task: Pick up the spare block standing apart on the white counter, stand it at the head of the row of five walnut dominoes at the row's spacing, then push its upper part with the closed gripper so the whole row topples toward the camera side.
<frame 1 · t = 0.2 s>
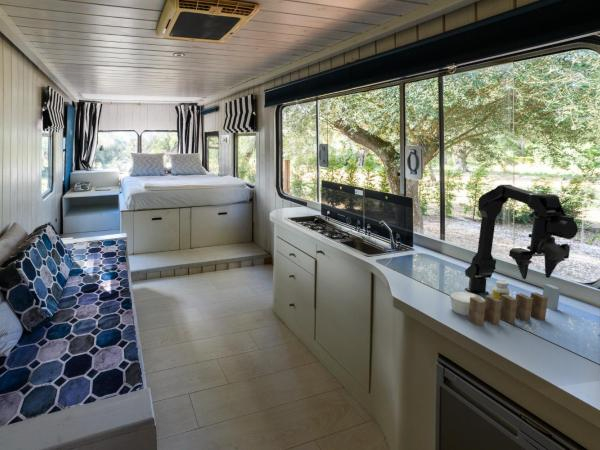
hand: (535, 278, 138), 14 cm above the countertop, fingers open, 9 cm apart
tile 4: (491, 321, 138), on the countertop
spare block: (549, 307, 152), on the countertop
tile 5: (475, 322, 137), on the countertop
supplement bottle: (498, 308, 150), on the countertop
ramekin: (465, 311, 147), on the countertop
tile 1: (536, 317, 142), on the countertop
tile 3: (506, 319, 140), on the countertop
tile 2: (521, 318, 141), on the countertop
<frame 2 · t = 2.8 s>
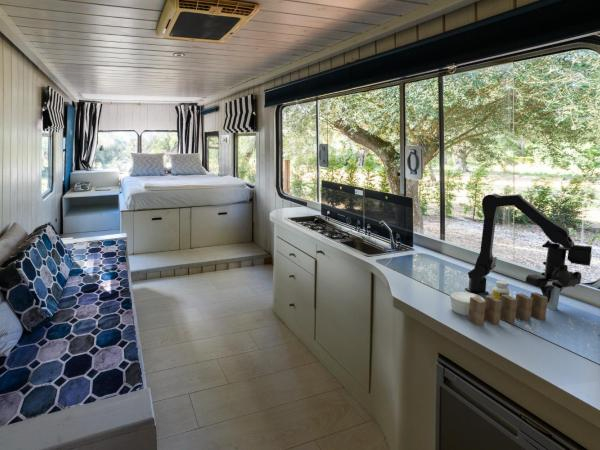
hand: (549, 301, 151), 2 cm above the countertop, fingers closed on spare block, 2 cm apart
spare block: (549, 307, 152), on the countertop, touching gripper
everything else where it was.
when the fingers open (3 cm above the countertop, at t = 6.4 s): spare block drops 1 cm, on the countertop.
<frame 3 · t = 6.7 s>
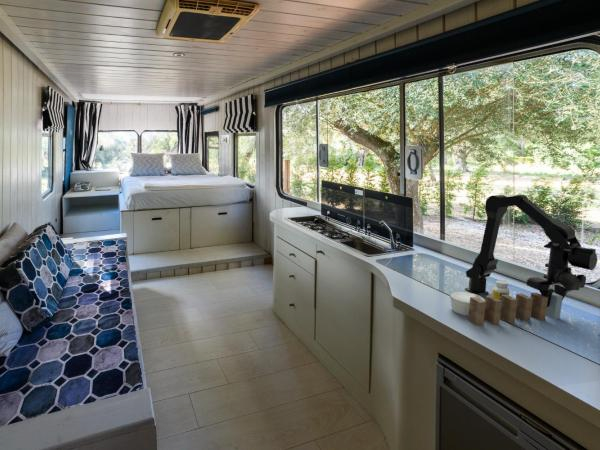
hand: (552, 306, 143), 3 cm above the countertop, fingers open, 4 cm apart
spare block: (551, 315, 144), on the countertop
everything else where it was.
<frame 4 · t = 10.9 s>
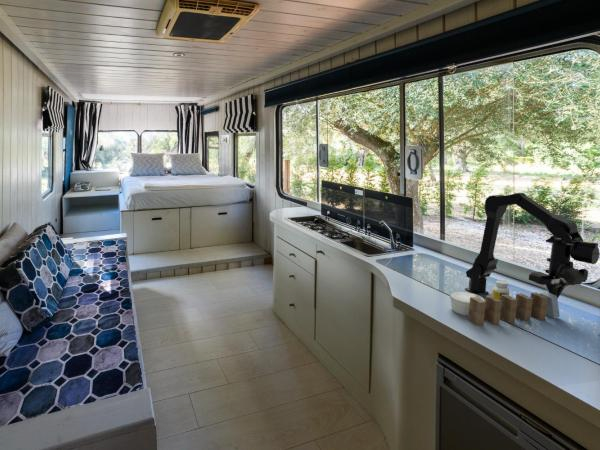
hand: (554, 300, 143), 5 cm above the countertop, fingers closed
spare block: (551, 315, 144), on the countertop, tilted 17°
everything else where it was.
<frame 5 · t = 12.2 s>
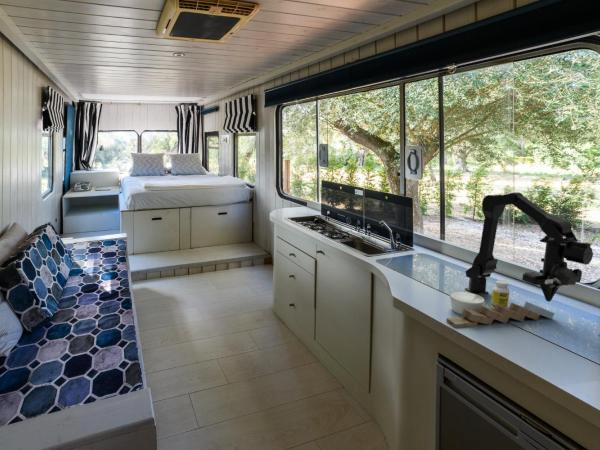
hand: (548, 301, 142), 6 cm above the countertop, fingers closed
tile 4: (487, 318, 138), point 1 cm above the countertop, tilted 75°, touching tile 3
spare block: (547, 313, 143), point 1 cm above the countertop, tilted 68°
tile 5: (472, 322, 137), on the countertop, tilted 90°
tile 1: (533, 314, 142), point 1 cm above the countertop, tilted 68°
tile 3: (502, 317, 139), point 1 cm above the countertop, tilted 69°, touching tile 2, tile 4
tile 2: (518, 316, 140), point 1 cm above the countertop, tilted 69°, touching tile 3
everything else where it was.
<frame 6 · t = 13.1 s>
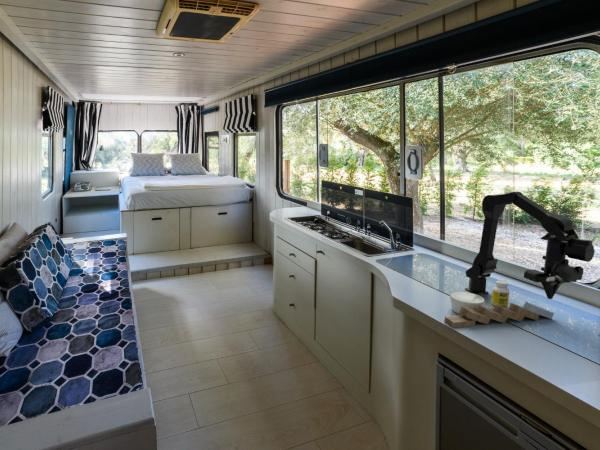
hand: (549, 298, 142), 6 cm above the countertop, fingers closed
tile 4: (484, 318, 138), point 1 cm above the countertop, tilted 70°, touching tile 3
spare block: (546, 313, 143), point 1 cm above the countertop, tilted 69°, touching tile 1
tile 1: (532, 314, 142), point 1 cm above the countertop, tilted 69°, touching spare block, tile 2
tile 2: (517, 316, 140), point 1 cm above the countertop, tilted 70°, touching tile 1, tile 3
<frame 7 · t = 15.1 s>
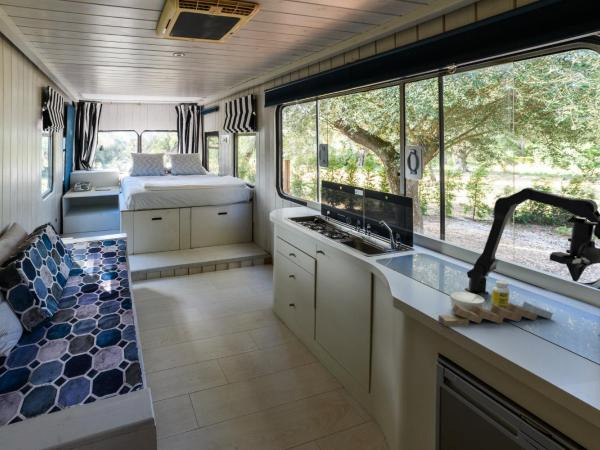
hand: (575, 281, 142), 12 cm above the countertop, fingers closed
tile 4: (478, 318, 138), point 1 cm above the countertop, tilted 70°
tile 5: (464, 320, 137), point 1 cm above the countertop, tilted 90°
tile 3: (497, 317, 138), point 1 cm above the countertop, tilted 70°, touching tile 2
at the end: tile 5 tilted 90°; spare block tilted 69°; spare block inside the target area (0.3 cm from its centre), point 1.0 cm above the countertop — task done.
